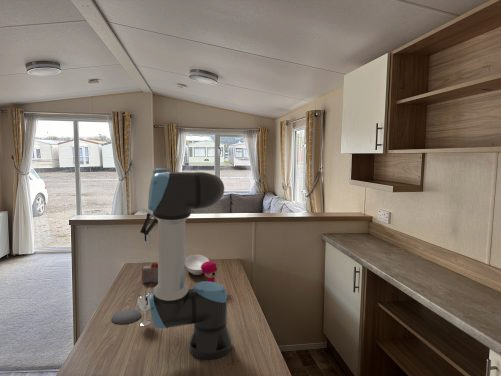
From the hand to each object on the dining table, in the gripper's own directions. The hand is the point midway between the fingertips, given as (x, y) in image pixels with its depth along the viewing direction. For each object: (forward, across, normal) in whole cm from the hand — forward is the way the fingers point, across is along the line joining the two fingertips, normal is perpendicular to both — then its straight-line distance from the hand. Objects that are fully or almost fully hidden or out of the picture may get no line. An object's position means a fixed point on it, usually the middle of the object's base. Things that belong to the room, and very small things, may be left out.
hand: (162, 248), depth 153 cm
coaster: (+27, +11, +13) cm, 32 cm away
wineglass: (+27, +1, +17) cm, 32 cm away
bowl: (+27, -1, -48) cm, 55 cm away
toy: (+27, -16, -22) cm, 38 cm away
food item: (+27, +18, -29) cm, 44 cm away
